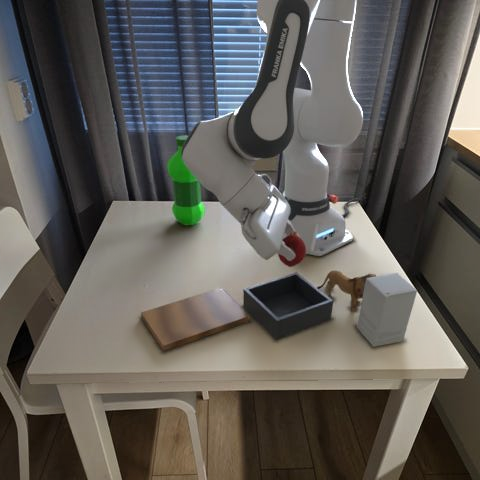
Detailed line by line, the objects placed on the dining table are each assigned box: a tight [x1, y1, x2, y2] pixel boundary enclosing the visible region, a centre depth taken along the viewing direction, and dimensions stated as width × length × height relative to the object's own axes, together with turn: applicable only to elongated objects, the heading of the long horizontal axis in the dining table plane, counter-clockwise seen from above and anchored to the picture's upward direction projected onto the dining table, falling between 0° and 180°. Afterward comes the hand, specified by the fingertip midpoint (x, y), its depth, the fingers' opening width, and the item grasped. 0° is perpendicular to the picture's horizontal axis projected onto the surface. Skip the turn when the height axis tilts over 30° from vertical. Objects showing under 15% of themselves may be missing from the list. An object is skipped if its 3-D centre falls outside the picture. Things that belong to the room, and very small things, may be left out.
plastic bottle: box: [166, 135, 206, 226], centre depth 131 cm, size 10×10×25 cm
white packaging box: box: [356, 272, 418, 348], centre depth 92 cm, size 7×7×13 cm
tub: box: [242, 271, 334, 341], centre depth 100 cm, size 15×14×5 cm
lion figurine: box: [316, 269, 377, 312], centre depth 103 cm, size 15×5×9 cm, turn 54°
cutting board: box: [140, 287, 250, 352], centre depth 99 cm, size 20×13×2 cm, turn 120°
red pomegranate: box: [277, 231, 307, 268], centre depth 92 cm, size 6×6×8 cm
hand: (295, 248), depth 92 cm, fingers closed on red pomegranate, 6 cm apart
